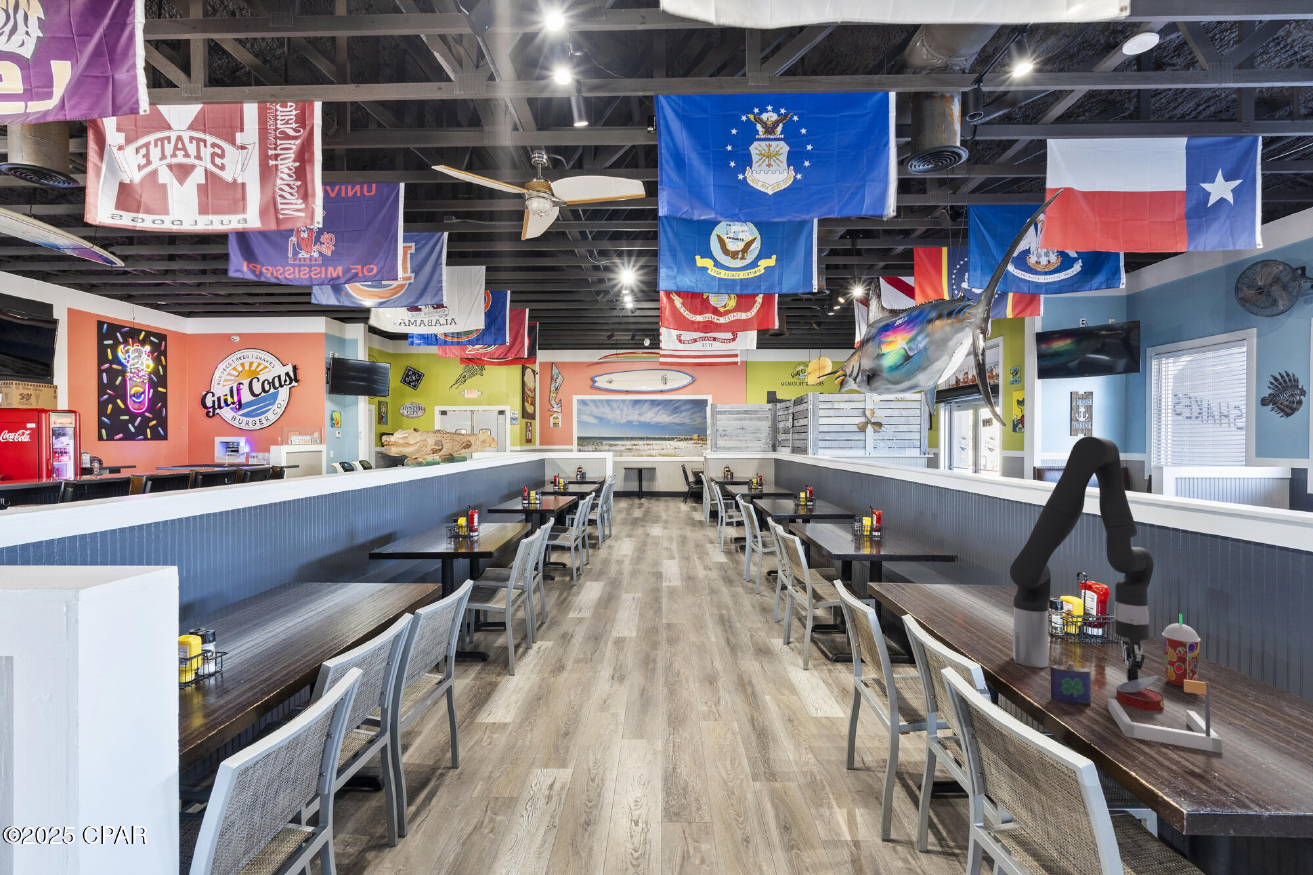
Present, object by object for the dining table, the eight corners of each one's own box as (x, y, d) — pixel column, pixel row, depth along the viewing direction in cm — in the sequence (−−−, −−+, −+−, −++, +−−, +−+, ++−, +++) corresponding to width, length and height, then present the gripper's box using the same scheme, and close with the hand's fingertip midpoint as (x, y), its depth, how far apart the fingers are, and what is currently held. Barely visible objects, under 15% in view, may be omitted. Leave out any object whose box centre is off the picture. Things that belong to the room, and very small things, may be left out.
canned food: (1147, 729, 151) (1135, 698, 150) (1111, 708, 161) (1099, 678, 160) (1182, 707, 152) (1170, 675, 151) (1143, 687, 162) (1132, 658, 161)
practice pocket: (1125, 736, 138) (1124, 671, 138) (1108, 709, 152) (1107, 651, 152) (1222, 752, 130) (1220, 685, 131) (1194, 723, 144) (1193, 662, 145)
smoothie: (1208, 690, 164) (1207, 619, 165) (1174, 688, 166) (1173, 617, 167) (1188, 679, 173) (1187, 611, 173) (1155, 677, 174) (1154, 609, 175)
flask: (1088, 702, 157) (1088, 661, 157) (1093, 706, 154) (1093, 665, 154) (1049, 698, 159) (1048, 658, 159) (1053, 702, 156) (1052, 662, 156)
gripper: (1108, 611, 171) (1109, 671, 170) (1121, 623, 159) (1122, 688, 158) (1140, 615, 168) (1141, 676, 167) (1156, 627, 156) (1157, 693, 155)
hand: (1132, 681), depth 163 cm, fingers closed
